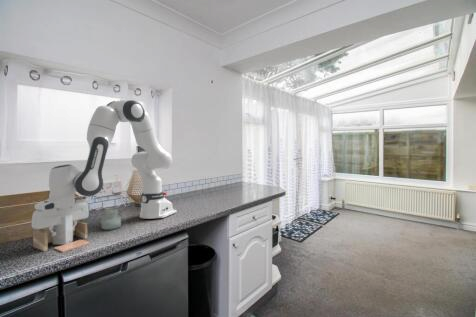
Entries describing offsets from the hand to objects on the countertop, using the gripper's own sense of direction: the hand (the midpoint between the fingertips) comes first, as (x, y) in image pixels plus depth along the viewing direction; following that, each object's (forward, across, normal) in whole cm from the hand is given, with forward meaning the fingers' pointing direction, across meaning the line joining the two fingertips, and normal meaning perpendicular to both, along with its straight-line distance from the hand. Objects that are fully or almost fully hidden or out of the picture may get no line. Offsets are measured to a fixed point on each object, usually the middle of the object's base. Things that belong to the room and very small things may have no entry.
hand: (62, 233), depth 98 cm
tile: (+4, 0, +8) cm, 9 cm away
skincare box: (+4, 0, 0) cm, 4 cm away
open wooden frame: (+4, 0, 0) cm, 4 cm away
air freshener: (+4, -22, 0) cm, 22 cm away
